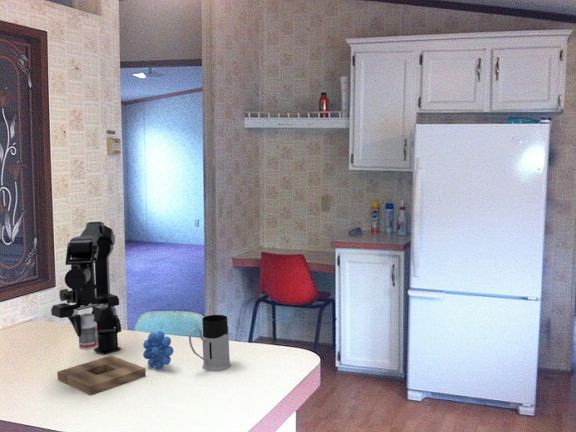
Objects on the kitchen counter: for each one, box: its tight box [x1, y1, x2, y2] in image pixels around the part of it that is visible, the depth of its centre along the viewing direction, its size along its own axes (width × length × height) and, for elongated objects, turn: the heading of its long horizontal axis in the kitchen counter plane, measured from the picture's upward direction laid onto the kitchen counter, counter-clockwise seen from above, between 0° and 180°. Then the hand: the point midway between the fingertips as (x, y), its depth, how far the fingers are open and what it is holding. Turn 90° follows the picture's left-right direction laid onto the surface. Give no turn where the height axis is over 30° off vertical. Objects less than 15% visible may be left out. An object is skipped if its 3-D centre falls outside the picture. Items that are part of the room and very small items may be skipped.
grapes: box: [142, 330, 174, 370], centre depth 198 cm, size 12×7×12 cm, turn 58°
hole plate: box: [56, 355, 147, 396], centre depth 192 cm, size 18×18×2 cm
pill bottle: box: [78, 312, 98, 351], centre depth 191 cm, size 5×5×10 cm
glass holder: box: [188, 314, 232, 372], centre depth 196 cm, size 9×14×15 cm, turn 137°
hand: (88, 334), depth 191 cm, fingers closed on pill bottle, 5 cm apart
